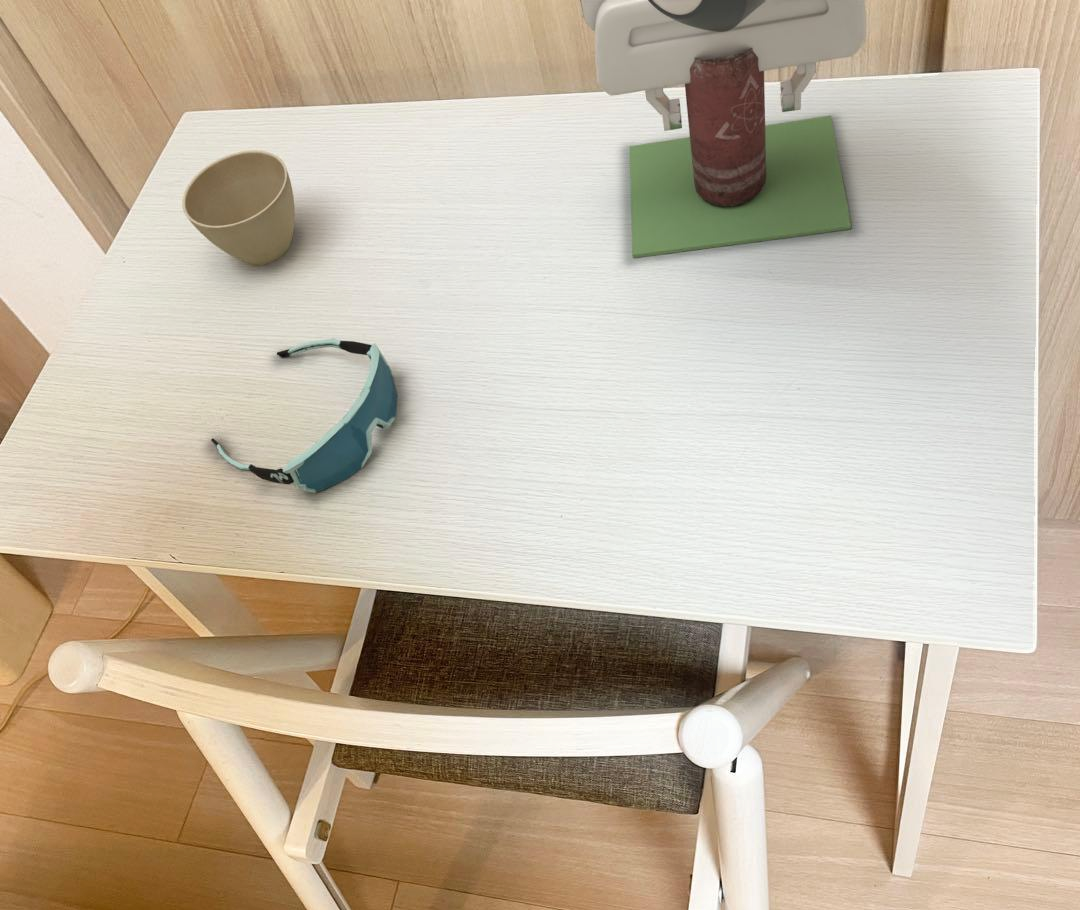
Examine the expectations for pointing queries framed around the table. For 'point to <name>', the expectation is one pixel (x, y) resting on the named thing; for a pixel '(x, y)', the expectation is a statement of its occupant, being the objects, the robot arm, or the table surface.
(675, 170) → the felt cloth
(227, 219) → the flower pot
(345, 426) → the sunglasses
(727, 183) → the can
